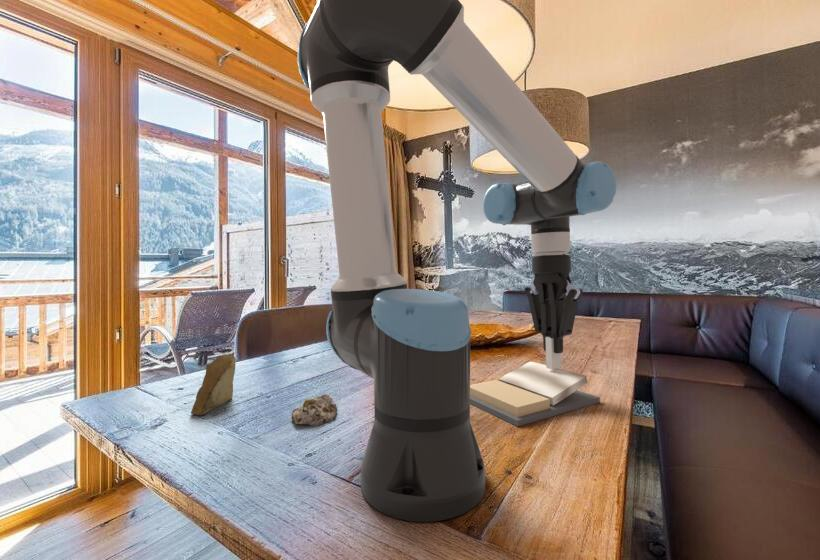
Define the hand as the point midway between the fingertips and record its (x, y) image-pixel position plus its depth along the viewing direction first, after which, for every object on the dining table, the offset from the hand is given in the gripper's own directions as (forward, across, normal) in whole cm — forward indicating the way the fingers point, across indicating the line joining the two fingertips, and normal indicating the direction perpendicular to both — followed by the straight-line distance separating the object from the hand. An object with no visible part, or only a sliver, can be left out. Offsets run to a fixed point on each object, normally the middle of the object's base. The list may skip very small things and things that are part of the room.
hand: (553, 367), depth 78 cm
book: (+3, 0, +4) cm, 5 cm away
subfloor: (+5, 0, +8) cm, 9 cm away
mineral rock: (+5, +14, +46) cm, 48 cm away
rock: (+4, +30, +63) cm, 70 cm away
